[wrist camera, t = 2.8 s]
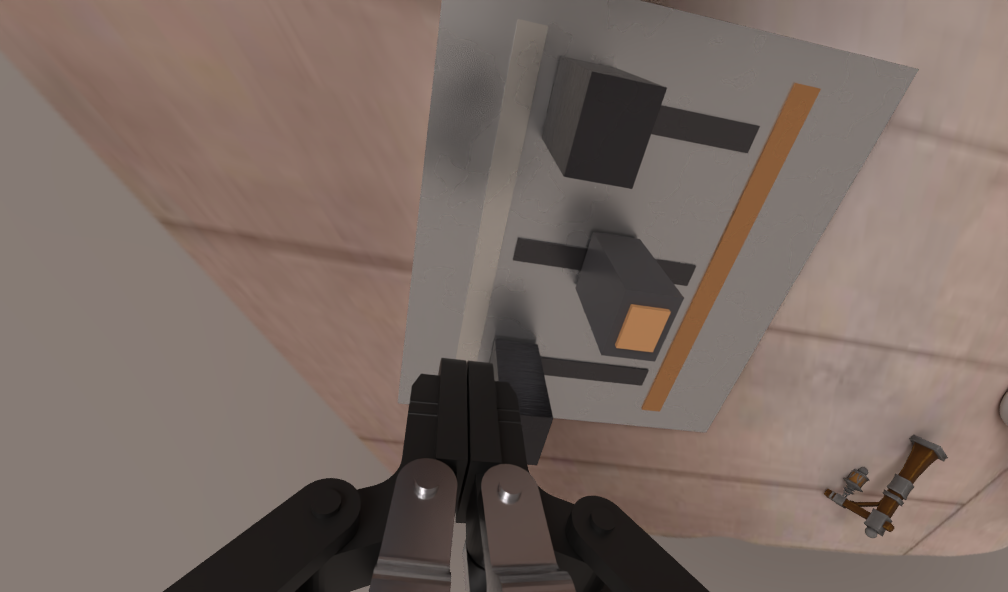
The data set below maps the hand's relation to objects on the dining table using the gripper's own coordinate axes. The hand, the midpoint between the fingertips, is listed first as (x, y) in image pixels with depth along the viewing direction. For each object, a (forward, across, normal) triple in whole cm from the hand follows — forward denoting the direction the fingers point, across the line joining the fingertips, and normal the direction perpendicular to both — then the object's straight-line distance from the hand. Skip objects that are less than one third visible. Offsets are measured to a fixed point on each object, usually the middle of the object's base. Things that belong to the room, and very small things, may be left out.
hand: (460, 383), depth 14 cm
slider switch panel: (+11, -8, 0) cm, 14 cm away
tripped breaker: (+10, -7, 0) cm, 12 cm away
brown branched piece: (+12, -34, +14) cm, 39 cm away
